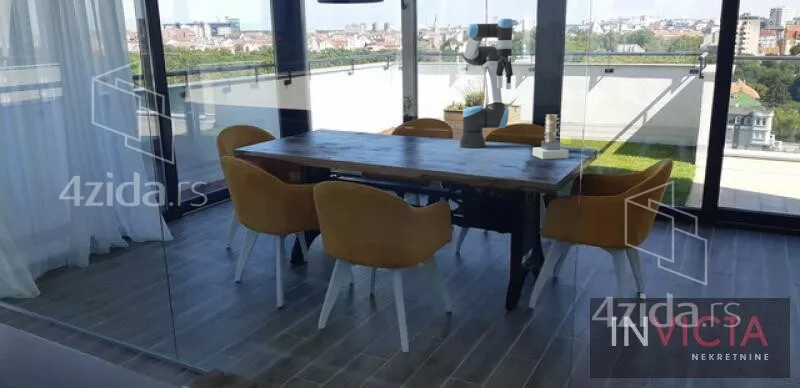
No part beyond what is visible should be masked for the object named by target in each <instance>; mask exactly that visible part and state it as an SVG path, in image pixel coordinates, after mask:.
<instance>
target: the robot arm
mask: <svg viewBox="0 0 800 388" xmlns="http://www.w3.org/2000/svg"><path fill="white" fill-rule="evenodd" d="M513 26H514V25H513V19H512V18H499V19H498V20H497V23H469V24H468V26H467V37H468V39H467V41H466V44H465V45H464V46H463V48H462V51H461V55H462V58H463V60H464V61H465V62H466V63H468V64H469V65H470V66H478V67H480V66H481V69H482V70H483V71H484V79H485V80H484V81H485V91H486V93H485V94H486V103H487V104H486V105H485V107H483V105H474V106H469V107H465V108H464V109H463V110H462V135H461V137H460V140H459V147H460V148H465V149H467V148H468V149H479V148H485V147H486V139H485V137H484V132H483V129H501V128H502V129H503V128H506V127H507V126H508V121H509V116H510V110H509V108H508V107H506V105H505V103H504V102H503V99H502V90H501V89H503V83H504V82H503V79H504V78H505V90H511V89H512V76H513V75H514V72H513V66H512V65H513V64H512V58H511V57H512V54H513V53H512V52H513V51H512V50H513V49H512V47H513V44H514V42H513ZM486 38H487V39H488V38H489V39H491V38H494V39H495V38H496V39H497V45H488V46H487V45H481V43H482V41H483V39H486ZM504 71H505V76H504V74H503V73H504Z"/></svg>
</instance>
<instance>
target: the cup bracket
mask: <svg viewBox="0 0 800 388" xmlns="http://www.w3.org/2000/svg"><path fill="white" fill-rule="evenodd" d="M540 147H541V148H542V149H544V150H560V148H561V141H560V142H558V141H556V142H546V141H544V140H541V141H540Z"/></svg>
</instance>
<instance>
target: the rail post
mask: <svg viewBox="0 0 800 388" xmlns="http://www.w3.org/2000/svg"><path fill="white" fill-rule="evenodd" d="M555 114H556V113H555ZM555 114H554V113H548V114H545V115H546V142H556V124H557V115H555Z"/></svg>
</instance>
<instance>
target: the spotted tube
mask: <svg viewBox="0 0 800 388" xmlns="http://www.w3.org/2000/svg"><path fill="white" fill-rule="evenodd" d="M555 115H557V124H556V141H558V142H560V143H561V141H560V139H561V137H560V136H561V117H562V115H561V114H557V113H555ZM543 134H544V138H543V141H546V114H545V115H544V133H543Z"/></svg>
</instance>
